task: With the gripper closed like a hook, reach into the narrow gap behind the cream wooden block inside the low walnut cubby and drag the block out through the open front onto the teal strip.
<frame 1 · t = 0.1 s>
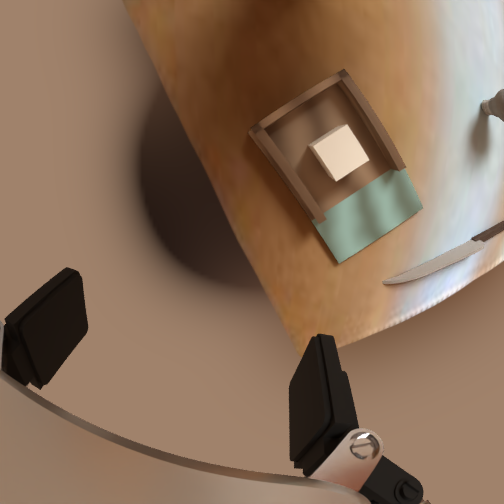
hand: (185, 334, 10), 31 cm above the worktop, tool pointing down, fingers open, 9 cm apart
light bulb: (484, 107, 29), on the worktop
cream block: (333, 150, 35), point 1 cm above the worktop, touching walnut cubby
walnut cubby: (337, 159, 36), on the worktop
kitchen knife: (451, 249, 40), on the worktop
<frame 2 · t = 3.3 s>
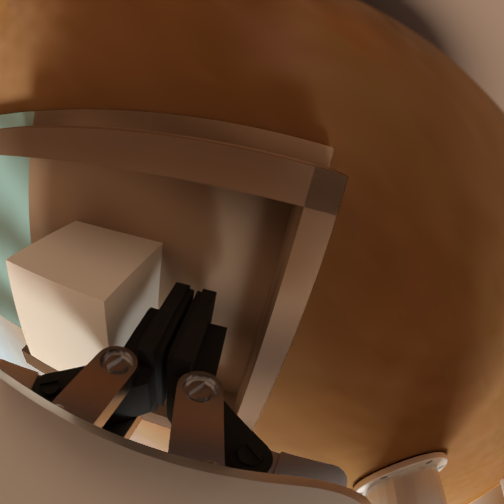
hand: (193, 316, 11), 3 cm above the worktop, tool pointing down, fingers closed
cream block: (114, 277, 13), point 1 cm above the worktop, touching gripper, walnut cubby
walnut cubby: (101, 262, 14), on the worktop
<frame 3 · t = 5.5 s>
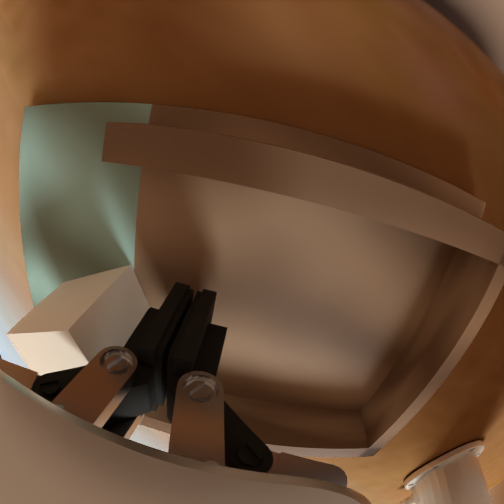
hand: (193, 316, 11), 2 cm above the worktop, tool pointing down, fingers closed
cream block: (114, 316, 13), point 1 cm above the worktop, touching gripper
walnut cubby: (240, 300, 13), on the worktop
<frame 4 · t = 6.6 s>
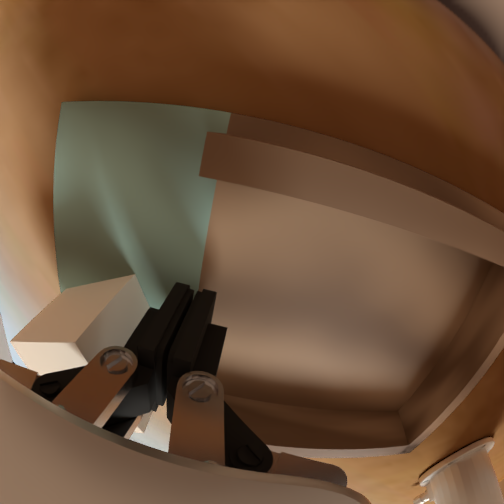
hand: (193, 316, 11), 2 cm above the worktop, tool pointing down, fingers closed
cream block: (117, 323, 13), point 1 cm above the worktop, touching gripper, walnut cubby
walnut cubby: (304, 314, 13), on the worktop
kitchen knife: (6, 327, 18), on the worktop
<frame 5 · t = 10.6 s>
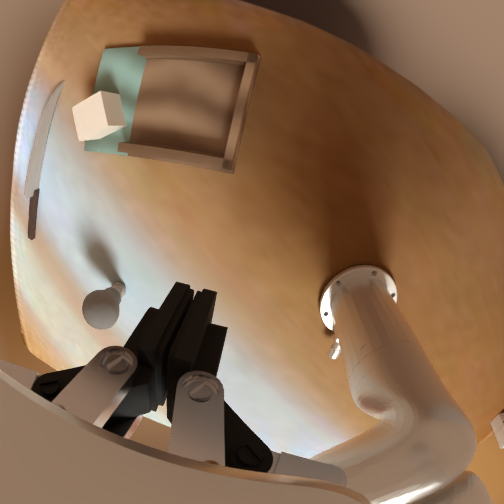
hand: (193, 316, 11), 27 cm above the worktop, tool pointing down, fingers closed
light bulb: (121, 287, 44), on the worktop
cream block: (109, 116, 32), point 1 cm above the worktop, touching walnut cubby
skincare box: (498, 416, 58), on the worktop
walnut cubby: (172, 102, 32), on the worktop
kitchen knife: (43, 162, 36), on the worktop
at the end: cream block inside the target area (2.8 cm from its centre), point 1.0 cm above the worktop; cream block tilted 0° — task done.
